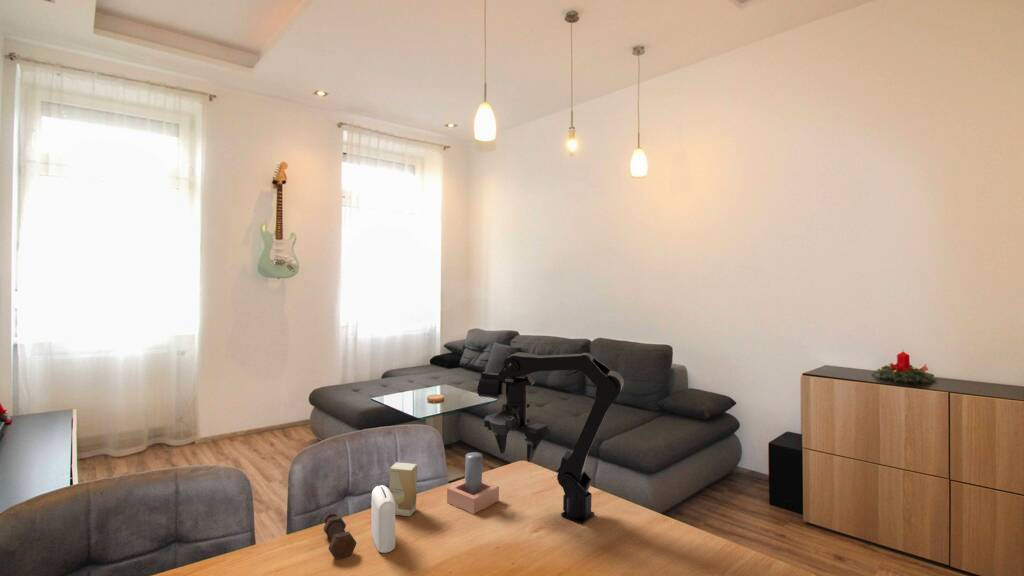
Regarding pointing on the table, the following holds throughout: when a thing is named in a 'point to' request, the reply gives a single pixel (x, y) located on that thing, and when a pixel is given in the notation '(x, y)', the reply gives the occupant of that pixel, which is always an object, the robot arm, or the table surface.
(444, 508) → the table surface
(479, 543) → the table surface
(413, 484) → the skincare box
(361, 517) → the table surface
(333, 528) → the bolt
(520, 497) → the table surface
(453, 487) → the tray
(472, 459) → the grey dome-topped post
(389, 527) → the photo printer
